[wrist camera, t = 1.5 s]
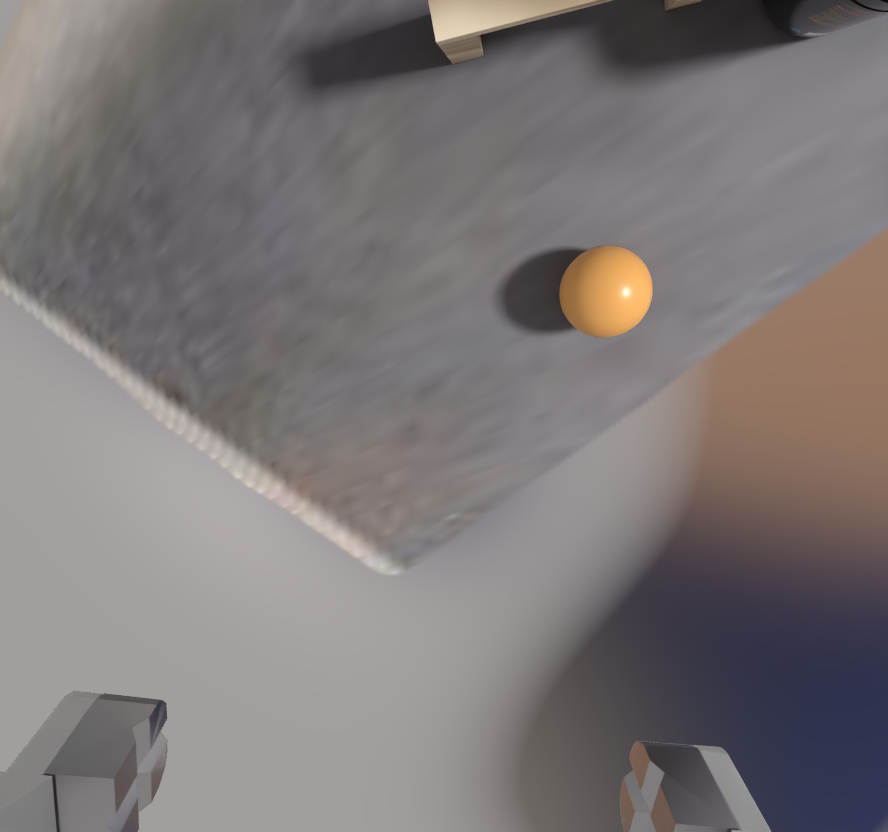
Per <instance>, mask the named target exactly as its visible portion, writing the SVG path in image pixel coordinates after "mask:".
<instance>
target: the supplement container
mask: <svg viewBox="0 0 888 832" xmlns="http://www.w3.org/2000/svg"><path fill="white" fill-rule="evenodd" d="M763 2H764V5H765V8H766V10H767V12H768V14H769V16H770V18H771V19H772V20H773V22H774V23H775V24H776V25H777V26H778V27H780V28H781V29H782V30H784V31H785V32H787V33H789V34H792V35H795V36H799V37H818V36H823V35H827V34H830V33H833V32H836V31H839V30H842V29H845V28H848V27H851V26H854V25H857V24H860V23H863V22H866V21H869V20H872V19H875V18H878V17H881V16H884V15H887V14H888V0H763Z"/></svg>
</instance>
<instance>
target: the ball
mask: <svg viewBox="0 0 888 832" xmlns="http://www.w3.org/2000/svg"><path fill="white" fill-rule="evenodd" d="M559 296H560V304H561V307H562V310H563V312H564V314H565V316H566V318H567V319H568V321H569V322H570V323H571V324H572V325H573V326H574V327H575V328H576V329H578V330H579V331H581V332H583V333H585V334H587V335H590V336H594V337H613V336H617V335H620V334H623V333H625V332H627V331H629V330H630V329H632V328H633V327H634V326H635V325H637V324H638V323H639V322H640V320H641V319H642V318H643V317H644V315H645V314H646V312H647V310H648V308H649V306H650V303H651V299H652V279H651V276H650V273H649V271H648V269H647V267H646V265H645V264H644V262H643V261H642V260H641V259H640V258H639V257H638V256H637V255H636V254H634V253H632V252H631V251H629V250H627V249H624V248H622V247H618V246H599V247H595V248H592V249H589V250H587V251H585V252H583V253H582V254H580V255H579V256H578V257H577V258H575V259H574V260H573V261H572V262H571V264H570V265H569V266H568V268H567V269H566V271H565V273H564V275H563V277H562V280H561V284H560V291H559Z"/></svg>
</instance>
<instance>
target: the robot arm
mask: <svg viewBox="0 0 888 832" xmlns="http://www.w3.org/2000/svg"><path fill="white" fill-rule="evenodd" d="M166 709H167V708H166V702H164V701H163V700H156V699H148V698H139V697H130V696H121V695H112V694H97V693H88V692H80V691H73V692H71V693H69V694H68V695H66V696H65V697H64V698H63V699H62V701H61V702H60V703H59V704H58V706H57V707H56V708H55V709H54V711H53V712H52V713H51V714H50V716H49V717H48V718H47V720H46V721H45V722H44V724H43V725H42V726H41V727H40V729H39V730H38V731H37V733H36V734H35V735H34V736H33V737H32V739H31V740H30V741H29V743H28V744H27V745H26V747H25V748H24V749H23V750H22V752H21V753H20V754H19V755H18V757H17V758H16V760H15V761H14V762H13V763H12V764H11V766H10V767H9V768H8V770H7V771H6V772H0V832H137V831H138V829H139V822H138V821H139V819H138V818H139V816H138V813H139V812H140V811H141V810H142V809H144V808H145V807H146V806H148V805H149V804H150V803H151V802H152V801H153V798H154V796H155V794H156V792H157V790H158V788H159V785H160V782H161V779H162V775H163V772H164V769H165V764H166V758H167V739H166V737H165V736H164V735H163V734H162V733H161V729H162V727H163V726H164V723H165V722H166V720H167V710H166ZM629 759H630V761H631V764H632V767H633V771H632V772H630V773H629V774H628V775H627V776H625V777H624V779H623V784H622V788H621V792H620V813H621V819H622V825H623V828H624V831H625V832H771V830H770V828H769V827H768V825H767V823H766V821H765V820H764V818H763V816H762V814H761V813H760V811H759V809H758V807H757V805H756V804H755V802H754V800H753V798H752V796H751V795H750V793H749V791H748V789H747V788H746V786H745V785H744V783H743V780H742V779H741V777H740V775H739V773H738V772H737V770H736V768H735V766H734V764H733V763H732V761H731V759H730V757H729V756H728V754H727V752H726V751H724V750H723V749H722V748H721V747H711V746H698V745H692V746H690V745H682V744H668V743H656V742H642V741H637V742H636V743H635V744H634V746H633V747H632V750H631V754H630V757H629Z"/></svg>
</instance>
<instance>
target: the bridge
mask: <svg viewBox="0 0 888 832" xmlns="http://www.w3.org/2000/svg"><path fill="white" fill-rule="evenodd" d="M609 1H613V0H428V2H429V7H430V12H431V18H432V23H433V29H434V34H435V40H436V43H437V44H438V46H439V47H440V48H441V49H442V51H443V52H444V53H445V55H446V56H447V57H448V59H449V60H450V61H451V63H452V64H456V63H460V62H464V61H468V60H472V59H476V58H480V57H483V56H484V54H483V48H482V42H481V36H480V35H482V34H486V33H489V32H493V31H497V30H501V29H505V28H509V27H513V26H517V25H520V24H524V23H528V22H532V21H536V20H540V19H544V18H547V17H551V16H555V15H559V14H563V13H567V12H571V11H574V10H578V9H582V8H586V7H590V6H594V5H598V4H601V3H605V2H609ZM700 1H702V0H664V2H665V11H666V10H670V9H674V8H677V7H681V6H685V5H689V4H693V3H697V2H700Z"/></svg>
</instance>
